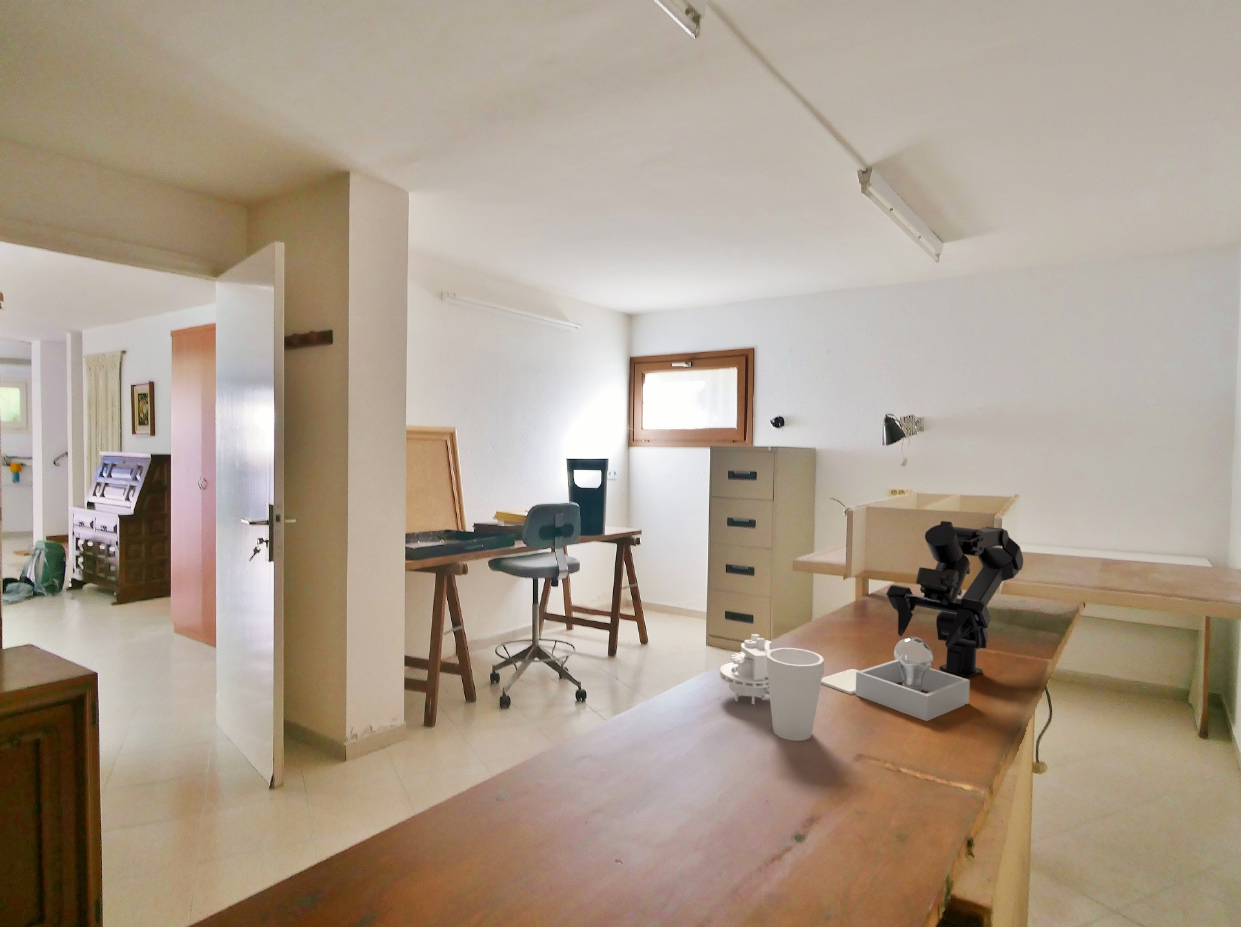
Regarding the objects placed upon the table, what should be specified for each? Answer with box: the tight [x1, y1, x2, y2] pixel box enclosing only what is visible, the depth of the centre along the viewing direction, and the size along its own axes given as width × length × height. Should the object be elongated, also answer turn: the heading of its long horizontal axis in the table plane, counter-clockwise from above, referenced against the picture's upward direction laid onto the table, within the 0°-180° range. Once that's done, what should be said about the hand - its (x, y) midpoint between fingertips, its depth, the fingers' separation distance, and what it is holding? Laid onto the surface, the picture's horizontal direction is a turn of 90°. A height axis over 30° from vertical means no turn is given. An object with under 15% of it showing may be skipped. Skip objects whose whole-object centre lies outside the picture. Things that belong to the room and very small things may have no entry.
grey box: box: [854, 659, 971, 722], centre depth 133 cm, size 15×15×4 cm
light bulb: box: [893, 636, 934, 692], centre depth 133 cm, size 7×7×12 cm
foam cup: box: [766, 647, 825, 742], centre depth 117 cm, size 10×9×13 cm
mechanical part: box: [719, 633, 772, 706], centre depth 132 cm, size 11×12×12 cm
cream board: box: [821, 668, 860, 695], centre depth 142 cm, size 12×8×1 cm, turn 126°
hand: (922, 640), depth 136 cm, fingers open, 9 cm apart
